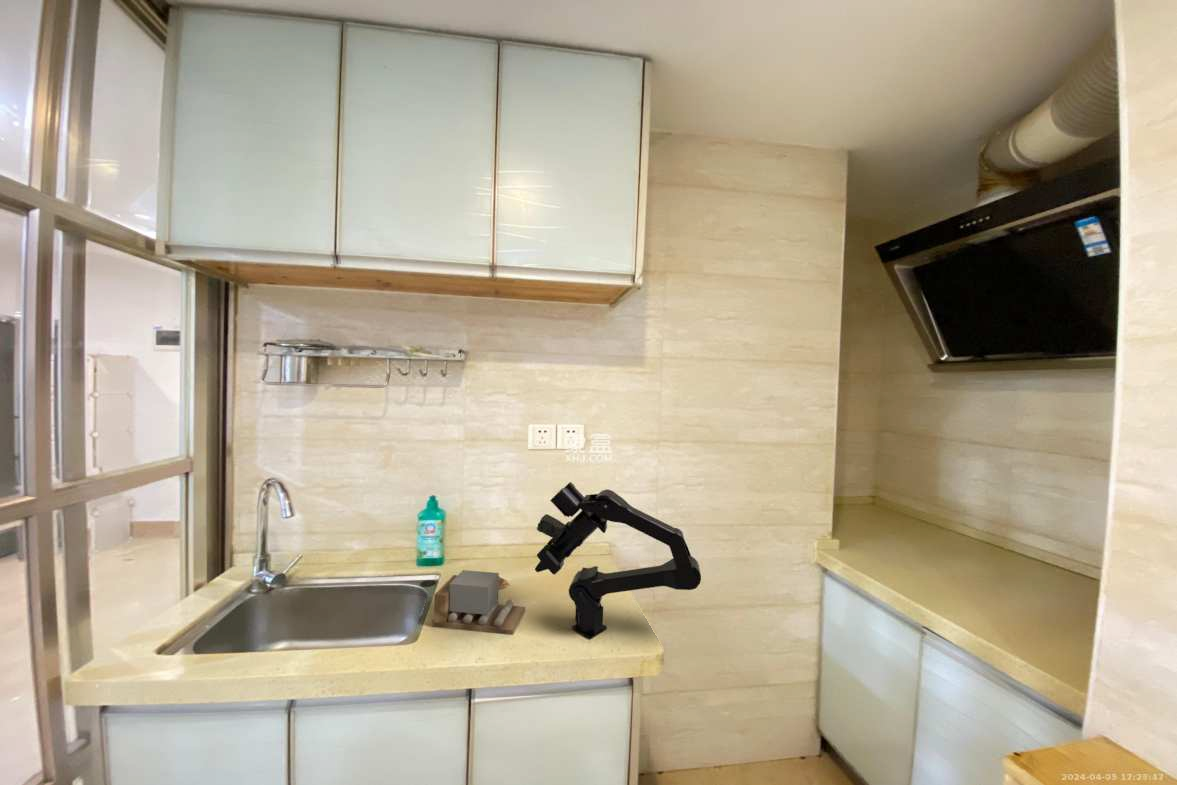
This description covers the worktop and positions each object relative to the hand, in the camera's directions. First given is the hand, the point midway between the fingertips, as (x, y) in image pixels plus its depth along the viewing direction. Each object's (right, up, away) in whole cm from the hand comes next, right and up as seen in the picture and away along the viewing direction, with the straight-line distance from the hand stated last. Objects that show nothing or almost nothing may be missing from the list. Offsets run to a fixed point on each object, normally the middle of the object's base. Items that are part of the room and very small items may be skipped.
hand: (536, 570), depth 112 cm
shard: (-14, -13, +18) cm, 27 cm away
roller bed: (-15, -13, +2) cm, 20 cm away
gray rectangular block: (-16, -10, +2) cm, 19 cm away
